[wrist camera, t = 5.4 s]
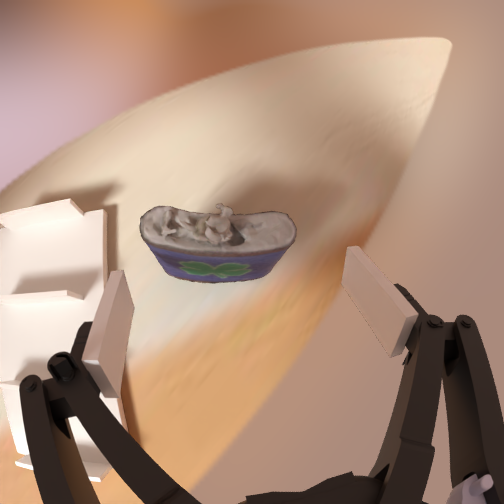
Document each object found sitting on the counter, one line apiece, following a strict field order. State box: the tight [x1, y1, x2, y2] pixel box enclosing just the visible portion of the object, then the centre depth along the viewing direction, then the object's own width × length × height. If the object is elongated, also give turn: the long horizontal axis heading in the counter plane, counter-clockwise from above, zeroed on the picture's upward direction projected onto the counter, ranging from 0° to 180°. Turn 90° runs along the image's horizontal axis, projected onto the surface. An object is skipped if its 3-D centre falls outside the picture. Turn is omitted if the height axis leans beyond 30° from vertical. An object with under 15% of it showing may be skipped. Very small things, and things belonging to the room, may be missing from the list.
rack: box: [0, 199, 129, 482], centre depth 19 cm, size 13×23×4 cm, turn 8°
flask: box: [140, 204, 297, 283], centre depth 20 cm, size 9×3×11 cm, turn 89°
